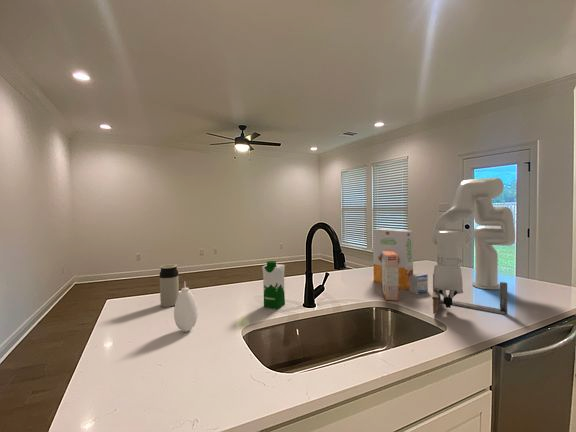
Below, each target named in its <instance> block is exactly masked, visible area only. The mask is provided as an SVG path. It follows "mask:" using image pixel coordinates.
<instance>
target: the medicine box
mask: <svg viewBox="0 0 576 432" xmlns="http://www.w3.org/2000/svg"><path fill="white" fill-rule="evenodd" d="M428 278H429V276H428V274H426V273H413V275H410V289H409V292H410V293H414V294H416V295H420V294H423V293H427V292H429V283H428V282H429V280H428Z"/></svg>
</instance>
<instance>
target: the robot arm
mask: <svg viewBox="0 0 576 432" xmlns="http://www.w3.org/2000/svg"><path fill="white" fill-rule="evenodd" d="M503 191H504V183H503V180H502V179H501V178H499V177H488V178H475V179H473V178H472V179H464V180H462V181H461V182H460V183H459V185H458V187H457V189H456V193H455V194H454V195H455V196H454V198H453V202H452V205H451V208H450V209H448V210H447V211H445V212H444V213H442V214H441V216H440V217H438V218H437V220H436V222H435V224H434V226H433V230H432V235H431V240H432V242H433V244H434V245H436V263H435V264H434V268H433V274H434V277H433V276H432V285H433V284H434V287H433V286H432V292H433V291H439V293H440V294H441V295H442V296H441V297H442V298H443V299H444V303H443V305H445V308H450V309H451V307H452V306H453V305H452V301H453V298H454V297H455V296H456V295H460V294H463V293H464V290H463V289H464V288H463V287H464V286H463V274H462V268H461V265H460V263H463V259H462V258H459V248H460V249H461V248H462V249H463V248H466V247H468V246H469V245H470V244H471V242H472V236H471V234H470V232H469V231H468V230H465V229H461V228H460V229H459V228H458V229H457V228H455V229H454V228H447V227H448V226H450V225H451V224H453V223H456V222H459V221H461V220H465V219H467V218H469V217H471V216H472V215H473V219H474V222H475V224H477V225H478V226H476V227H475V228H474V229H473V233H472V234H473V241H474V247H475V248H474V249H475V281H473V282H472V284H471V285H472V287H474V286H475V288H478V289H481V290H483V289H484V290H490V291H491V290H492V291H494V290H495V291H496V290H500V283H498V279H499V278H498V277H499V276H498V274H499V269H498V265H499V264H498V263H499V262H498V261H499V260H498V259H499V258H498V257H499V256H498V254H499V253H498V252H497V250H496V248H495V247H494V246H504V247H507V246H509V247H510V246H512V245H514V244H515V241H516V230H515V229H516V228H515V221H514V214H513V210H511V208H510V207H508V206H494V205H493V199H495V198H498V197H499V196H501V195H502V193H503ZM447 291H449V292H448V293H449V294H448V295H447Z"/></svg>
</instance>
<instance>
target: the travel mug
mask: <svg viewBox="0 0 576 432" xmlns="http://www.w3.org/2000/svg"><path fill="white" fill-rule="evenodd" d="M159 268H160V272H159V291H160V292H159V295H160V296H159V297H160V306H161V307H164V308H171V307H170V306H172V307H175V306H174V305H175V303H176V300H177V297H178V295H179V294H180V288H179V287H180V284H179V278H180V277H179V271H178V264H175V263H172V264H171V263H170V264H164V265H160V266H159Z"/></svg>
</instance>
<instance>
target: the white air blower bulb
mask: <svg viewBox="0 0 576 432" xmlns="http://www.w3.org/2000/svg"><path fill="white" fill-rule="evenodd" d="M186 284H187V283H186V281H184V284H183V287H182V288H181V290H180V291H179V295H178V297H177V300H176V303H175V306H173V308H174V309H173V310H174V311H173V319H174V322H175V325H176V327H177V329H179V330H180V331H182V332H185V333H186V332H189V331H191V330H192V329H193V328H194V327H195V325H196V323H197V320H198V317H199V316H198V315H199V313H198V304H197V301H196V298H195V296H194V295H193V293H192V292H191V291H190V288H189V287H187V285H186Z"/></svg>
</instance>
